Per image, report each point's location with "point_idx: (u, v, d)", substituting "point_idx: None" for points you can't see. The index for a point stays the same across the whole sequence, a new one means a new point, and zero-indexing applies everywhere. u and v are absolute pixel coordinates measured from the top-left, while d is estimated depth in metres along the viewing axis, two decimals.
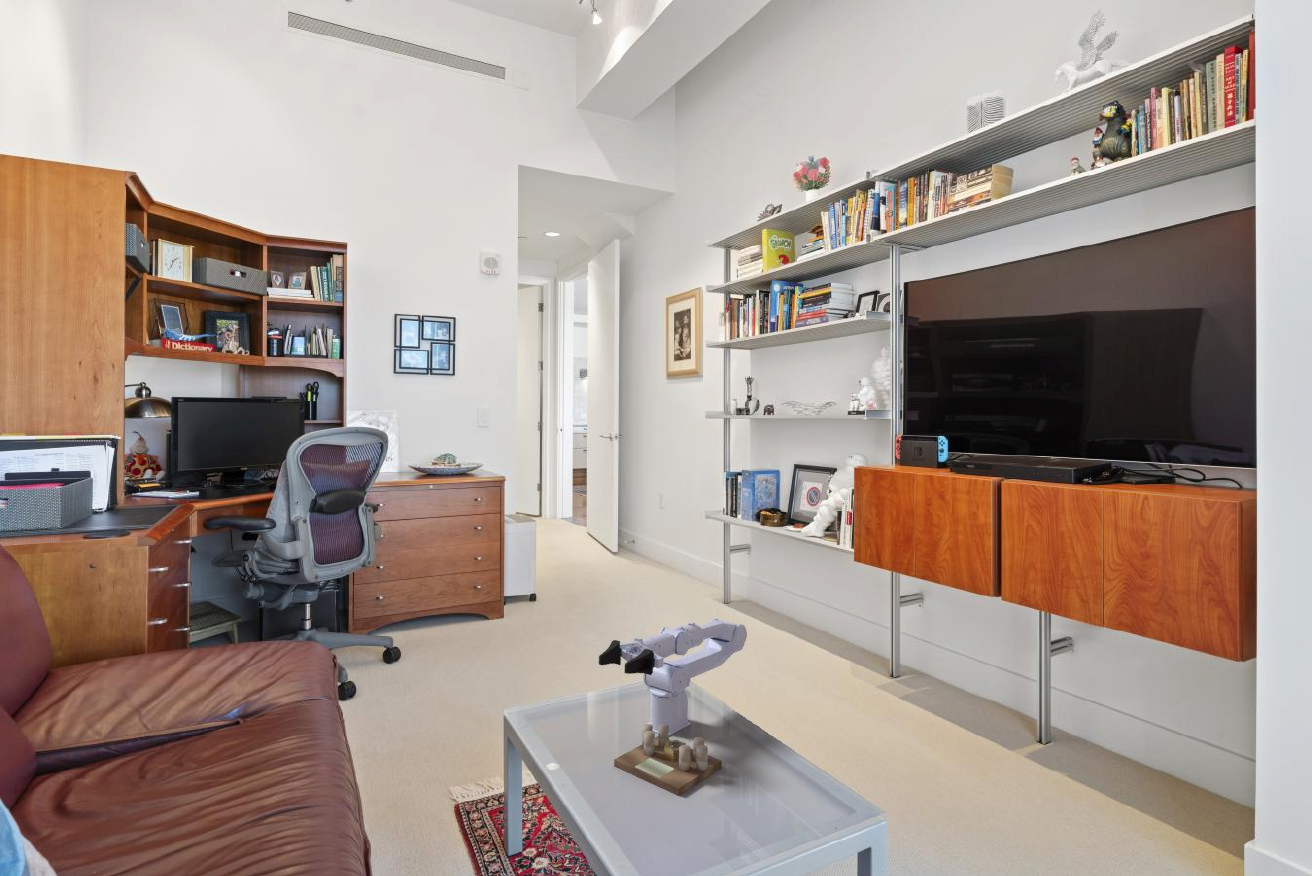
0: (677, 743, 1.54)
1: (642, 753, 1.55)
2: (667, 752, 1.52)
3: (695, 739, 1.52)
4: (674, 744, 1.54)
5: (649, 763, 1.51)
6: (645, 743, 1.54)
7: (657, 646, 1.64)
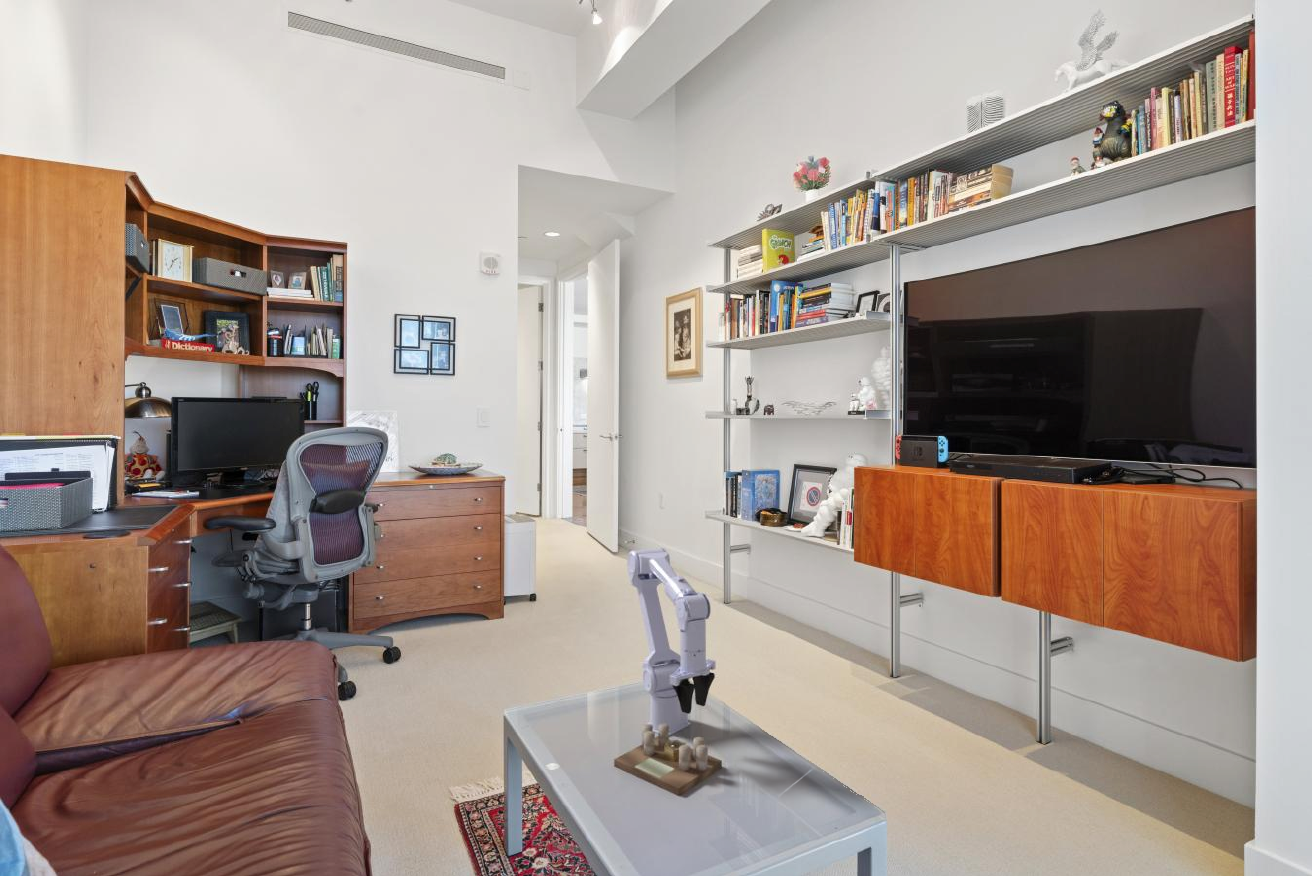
0: (677, 743, 1.54)
1: (642, 753, 1.55)
2: (667, 752, 1.52)
3: (695, 739, 1.52)
4: (674, 744, 1.54)
5: (649, 763, 1.51)
6: (645, 743, 1.54)
7: None
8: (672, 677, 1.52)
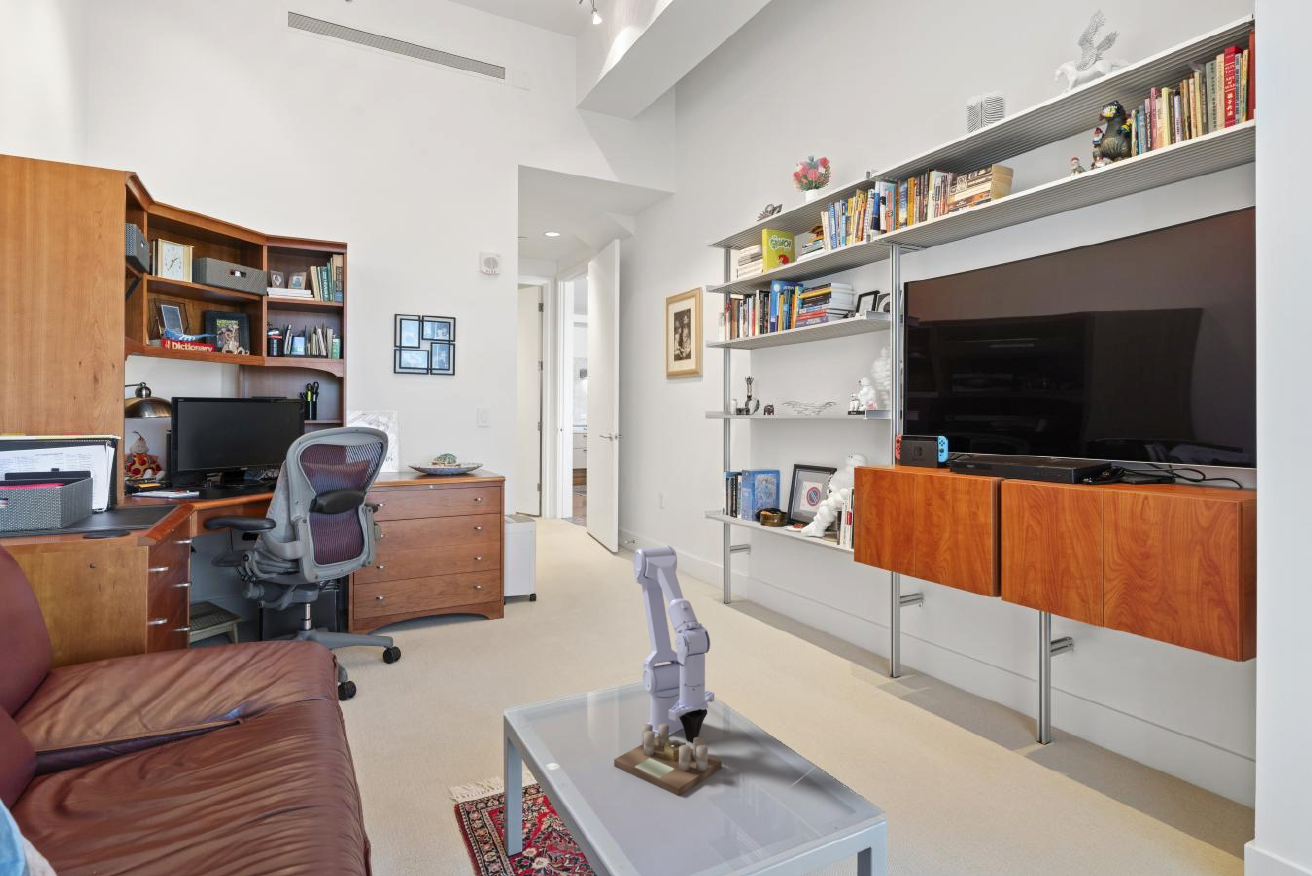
0: (677, 743, 1.54)
1: (642, 753, 1.55)
2: (667, 752, 1.52)
3: (695, 739, 1.52)
4: (674, 744, 1.54)
5: (649, 763, 1.51)
6: (645, 743, 1.54)
7: None
8: (671, 712, 1.53)
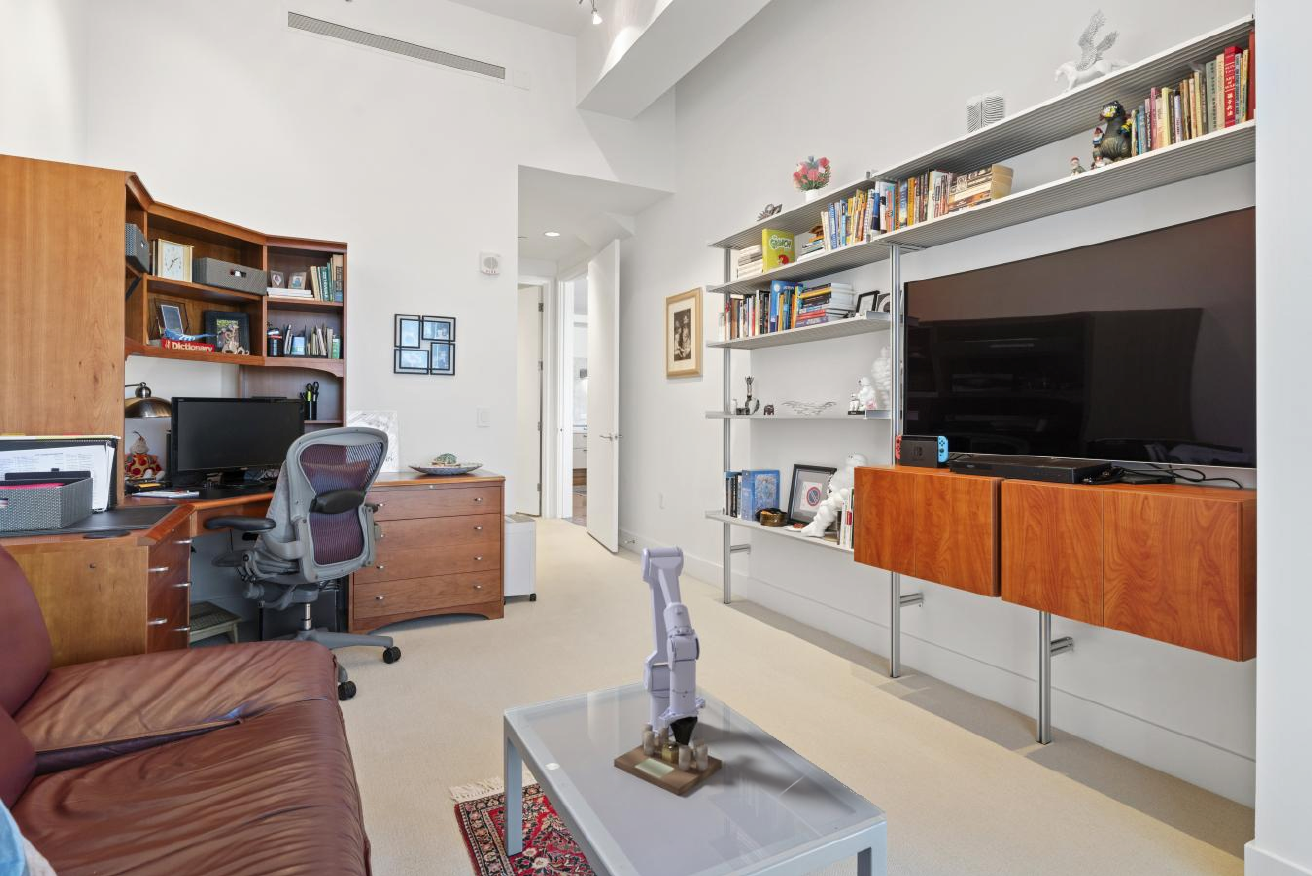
0: (675, 744, 1.54)
1: (642, 753, 1.55)
2: (665, 753, 1.52)
3: (695, 739, 1.52)
4: (672, 745, 1.53)
5: (649, 763, 1.51)
6: (645, 743, 1.54)
7: None
8: (661, 719, 1.50)
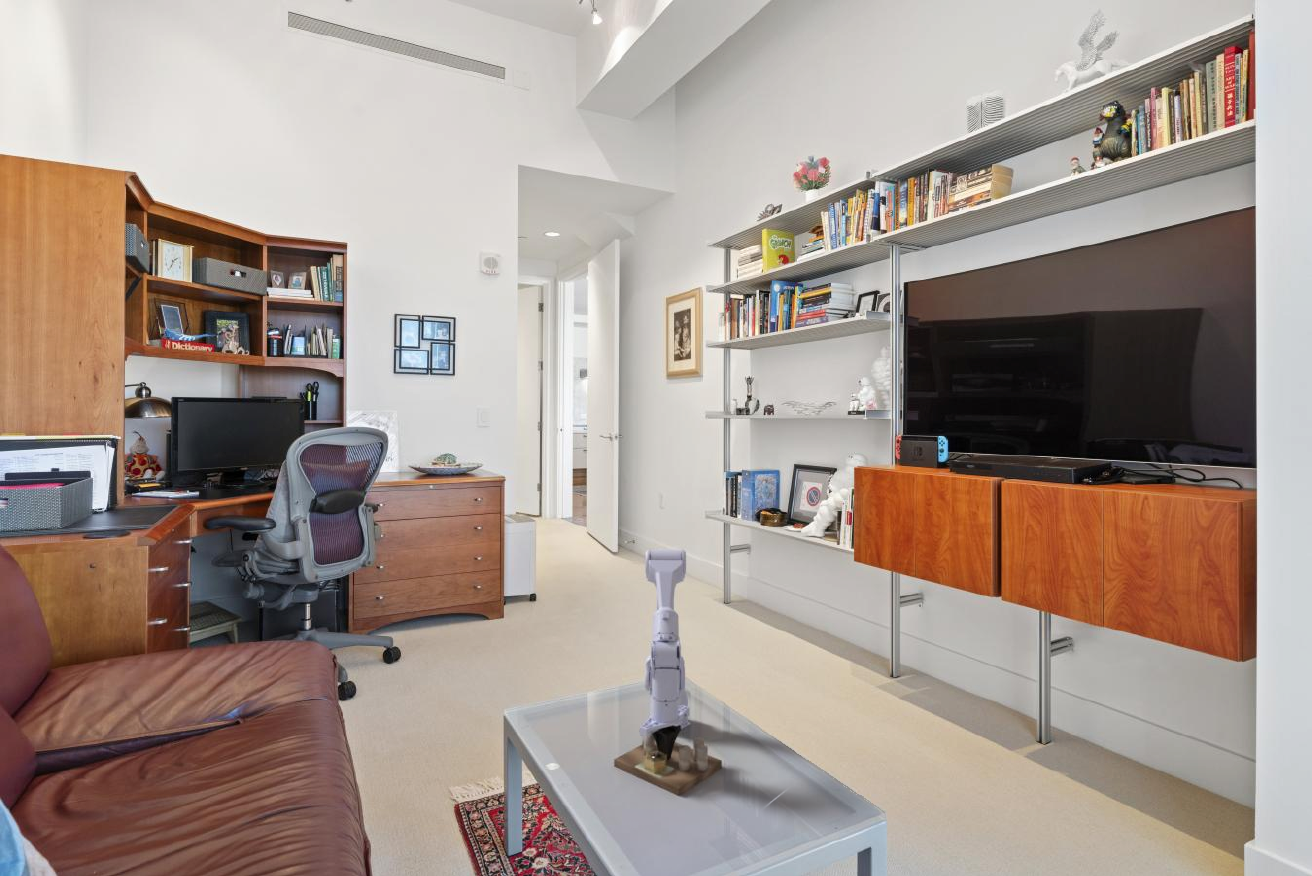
0: (658, 754, 1.49)
1: (642, 753, 1.55)
2: (647, 764, 1.47)
3: (695, 739, 1.52)
4: (655, 755, 1.49)
5: None
6: (645, 743, 1.54)
7: None
8: (642, 728, 1.46)
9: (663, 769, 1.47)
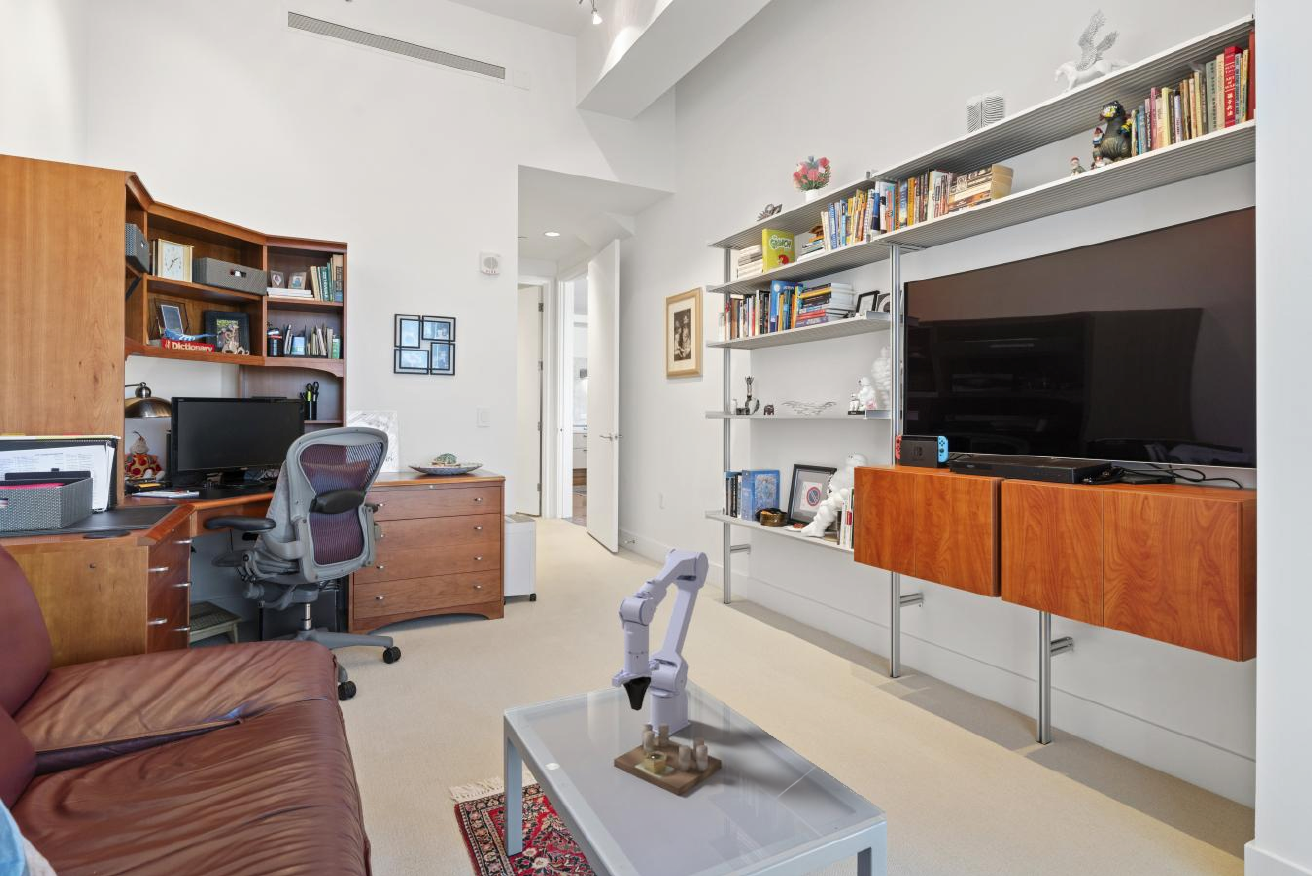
0: (658, 754, 1.49)
1: (642, 753, 1.55)
2: (647, 764, 1.47)
3: (695, 739, 1.52)
4: (655, 755, 1.49)
5: None
6: (645, 743, 1.54)
7: None
8: (614, 679, 1.54)
9: (663, 769, 1.47)
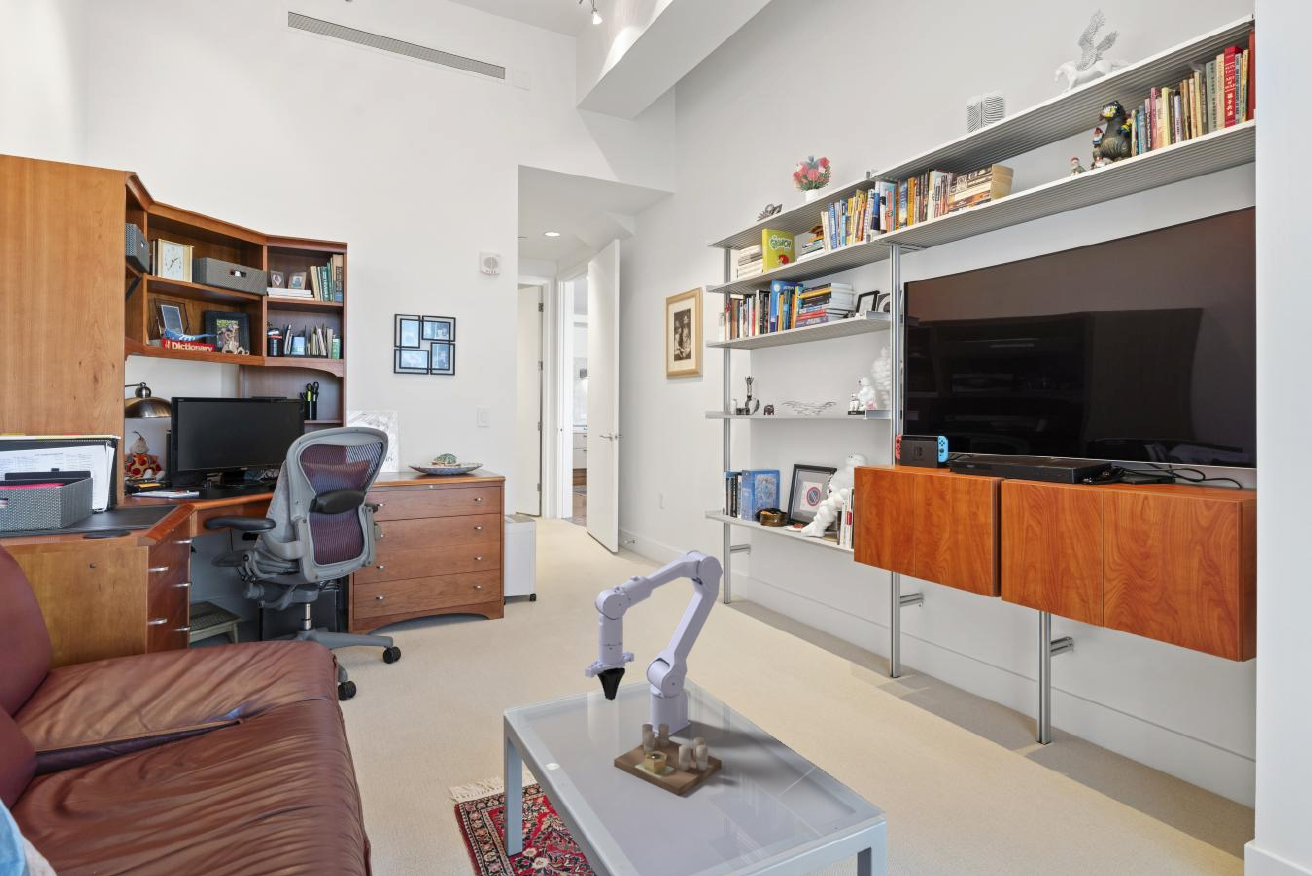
0: (658, 754, 1.49)
1: (642, 753, 1.55)
2: (647, 764, 1.47)
3: (695, 739, 1.52)
4: (655, 755, 1.49)
5: None
6: (645, 743, 1.54)
7: None
8: (587, 669, 1.60)
9: (663, 769, 1.47)
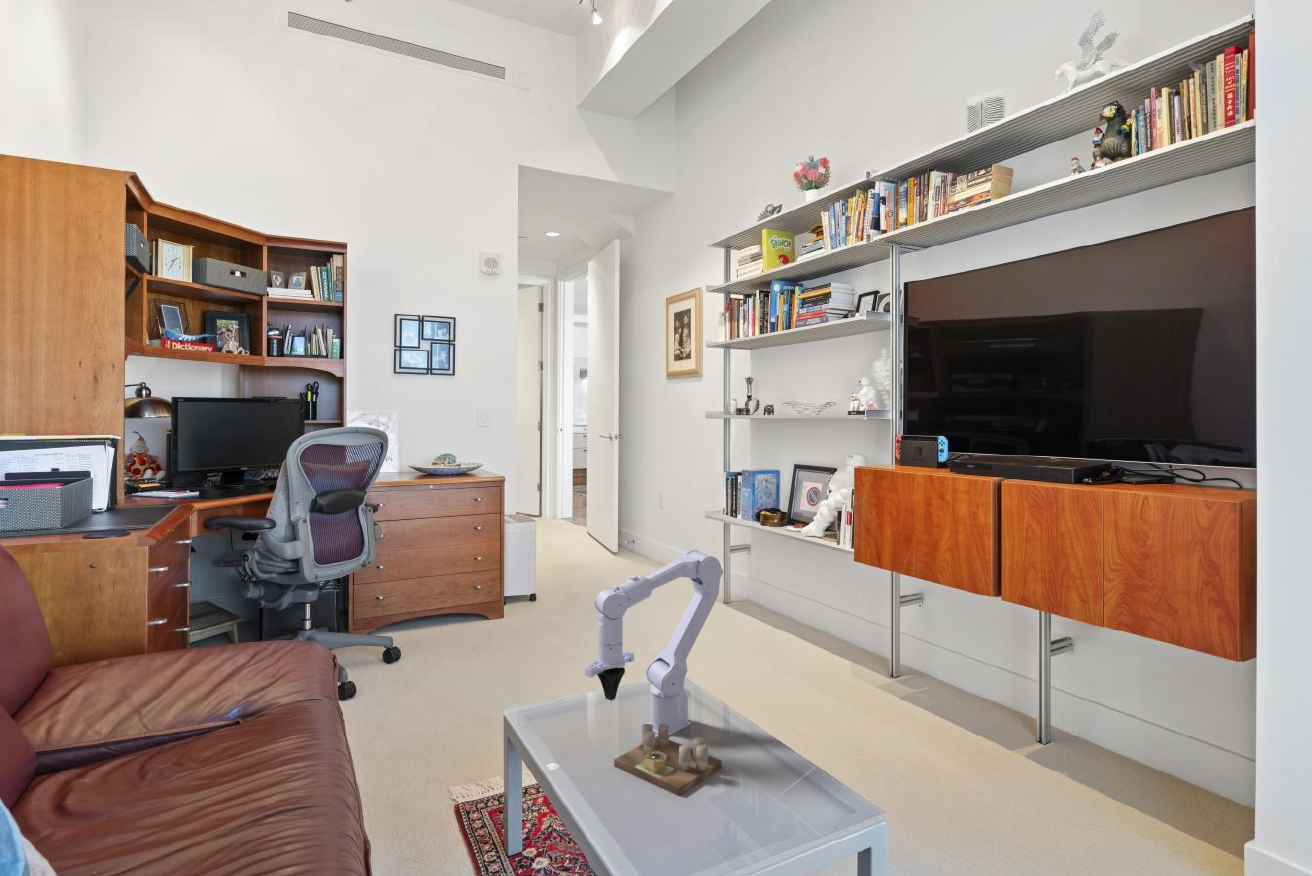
0: (658, 754, 1.49)
1: (642, 753, 1.55)
2: (647, 764, 1.47)
3: (695, 739, 1.52)
4: (655, 755, 1.49)
5: None
6: (645, 743, 1.54)
7: None
8: (587, 669, 1.60)
9: (663, 769, 1.47)
